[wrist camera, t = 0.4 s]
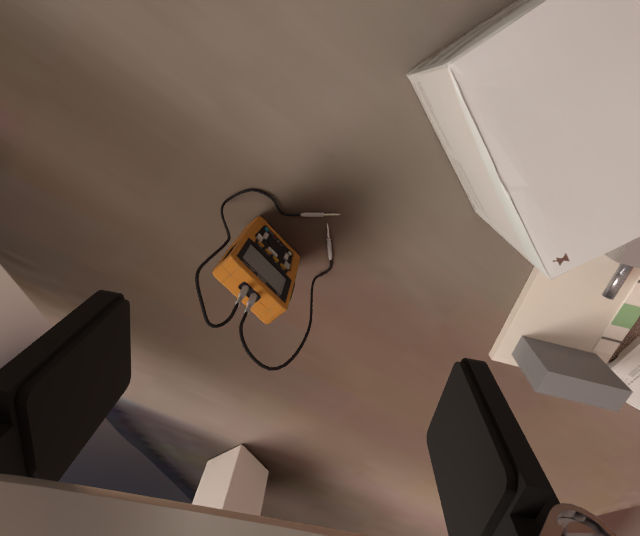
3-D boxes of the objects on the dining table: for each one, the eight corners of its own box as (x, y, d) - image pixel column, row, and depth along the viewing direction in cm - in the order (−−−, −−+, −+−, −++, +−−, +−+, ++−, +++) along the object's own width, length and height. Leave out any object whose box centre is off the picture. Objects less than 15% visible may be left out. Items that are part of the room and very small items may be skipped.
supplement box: (592, 150, 42) (756, 187, 25) (474, 215, 45) (549, 286, 29) (530, -14, 36) (685, -103, 20) (401, 75, 40) (441, 62, 23)
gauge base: (599, 141, 41) (656, 151, 34) (723, 175, 42) (806, 192, 34) (488, 354, 52) (512, 397, 45) (587, 378, 53) (627, 425, 46)
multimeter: (366, 242, 47) (380, 335, 29) (305, 290, 50) (283, 402, 32) (281, 146, 43) (235, 184, 25) (220, 204, 46) (140, 277, 28)
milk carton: (242, 442, 62) (201, 579, 44) (269, 470, 64) (241, 611, 46) (208, 459, 64) (156, 596, 46) (235, 486, 66) (196, 626, 48)
